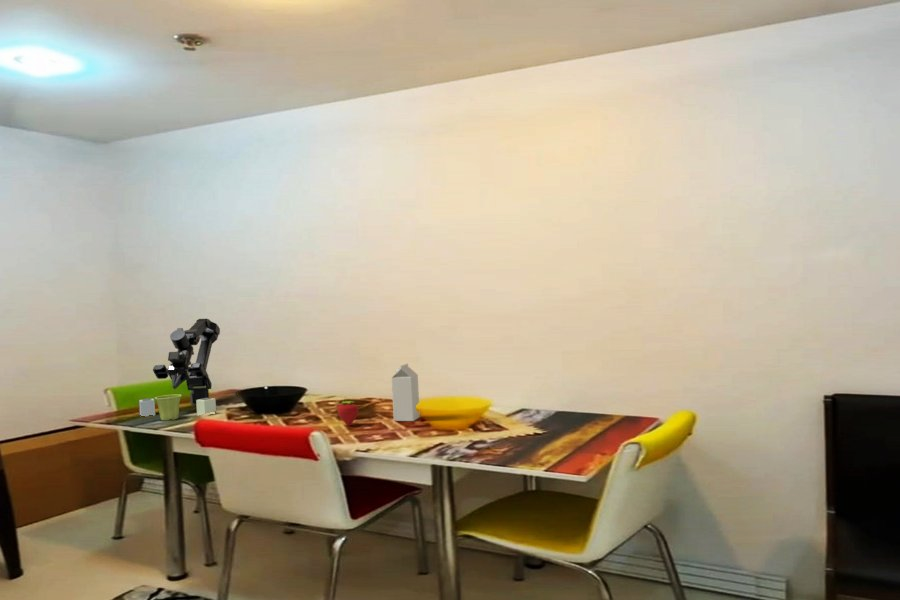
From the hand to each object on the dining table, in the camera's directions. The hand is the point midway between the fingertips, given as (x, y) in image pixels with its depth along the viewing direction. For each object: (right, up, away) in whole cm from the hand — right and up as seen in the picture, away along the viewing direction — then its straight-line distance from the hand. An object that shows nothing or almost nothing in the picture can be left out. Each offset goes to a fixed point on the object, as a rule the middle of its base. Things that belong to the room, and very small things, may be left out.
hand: (174, 388), depth 262 cm
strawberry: (+73, -8, -35) cm, 81 cm away
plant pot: (+1, -11, -6) cm, 13 cm away
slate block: (-13, -11, +5) cm, 18 cm away
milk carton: (+92, -7, -28) cm, 96 cm away
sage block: (+13, -10, 0) cm, 16 cm away
